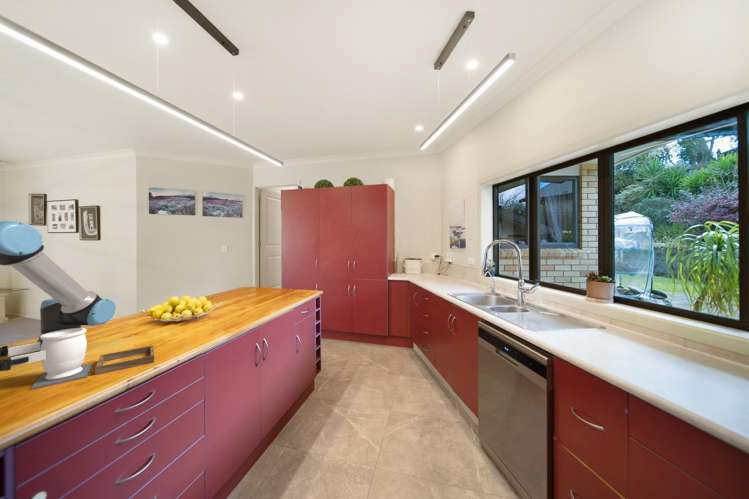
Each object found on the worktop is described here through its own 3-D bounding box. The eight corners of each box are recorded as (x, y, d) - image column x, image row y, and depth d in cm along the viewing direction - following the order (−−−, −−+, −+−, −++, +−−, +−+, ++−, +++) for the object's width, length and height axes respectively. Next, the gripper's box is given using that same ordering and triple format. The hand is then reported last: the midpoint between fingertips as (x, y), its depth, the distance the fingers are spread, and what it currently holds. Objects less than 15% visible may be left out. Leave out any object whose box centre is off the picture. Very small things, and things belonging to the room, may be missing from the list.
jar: (54, 383, 85) (54, 338, 85) (31, 380, 87) (31, 336, 87) (94, 369, 96) (94, 328, 96) (73, 366, 98) (73, 326, 98)
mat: (43, 373, 93) (43, 372, 93) (92, 364, 101) (92, 362, 101) (30, 389, 82) (30, 388, 82) (86, 377, 90) (86, 376, 90)
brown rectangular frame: (100, 361, 103) (100, 355, 103) (153, 351, 114) (153, 345, 114) (95, 375, 92) (95, 368, 92) (154, 362, 103) (154, 355, 103)
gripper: (-80, 377, 76) (38, 353, 94) (-93, 405, 63) (48, 370, 81) (-80, 351, 76) (38, 332, 94) (-92, 374, 63) (48, 346, 81)
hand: (43, 350), depth 87 cm, fingers open, 13 cm apart
